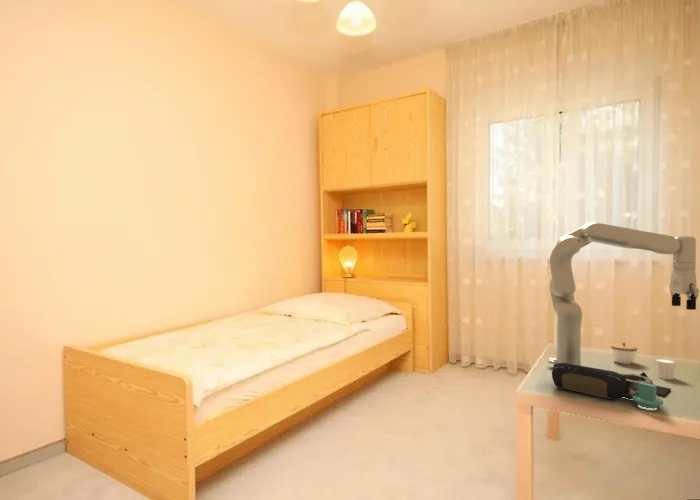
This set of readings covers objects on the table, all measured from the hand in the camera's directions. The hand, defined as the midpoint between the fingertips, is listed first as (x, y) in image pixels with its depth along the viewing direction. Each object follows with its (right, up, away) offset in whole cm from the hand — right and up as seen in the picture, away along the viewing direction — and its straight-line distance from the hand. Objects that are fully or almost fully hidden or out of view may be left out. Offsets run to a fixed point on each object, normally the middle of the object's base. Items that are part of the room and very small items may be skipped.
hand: (683, 307), depth 178 cm
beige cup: (-4, -30, +4) cm, 31 cm away
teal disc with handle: (-35, -31, -29) cm, 54 cm away
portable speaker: (-48, -31, -15) cm, 59 cm away
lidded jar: (-8, -30, +27) cm, 41 cm away
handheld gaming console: (-21, -31, -12) cm, 39 cm away
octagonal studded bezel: (-32, -31, -18) cm, 48 cm away
